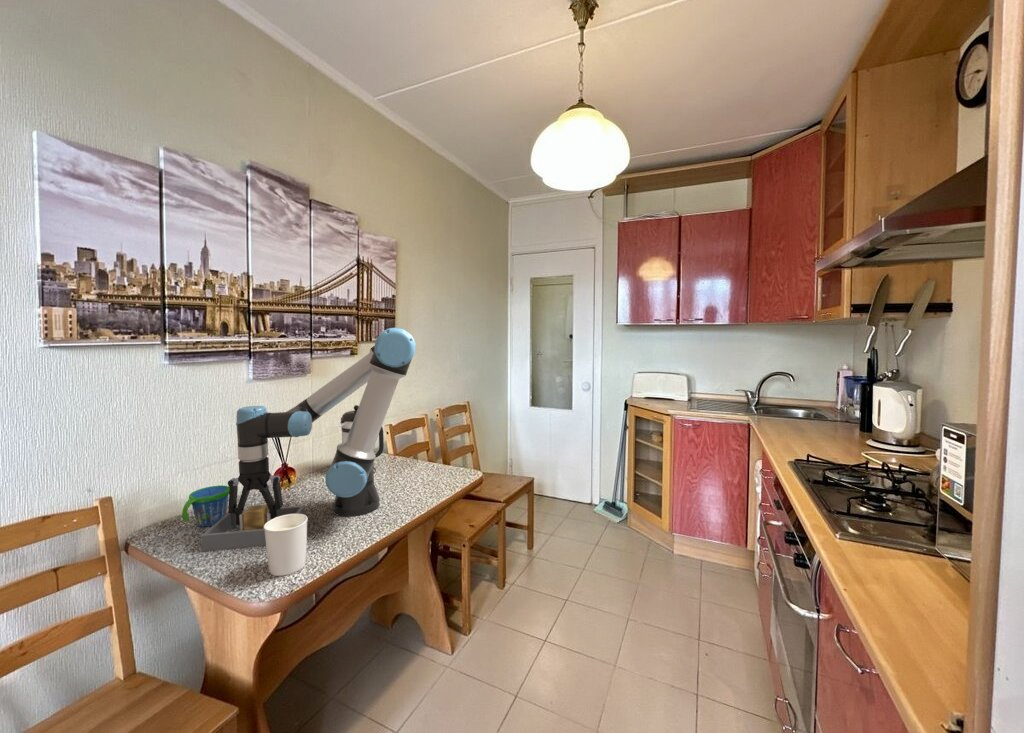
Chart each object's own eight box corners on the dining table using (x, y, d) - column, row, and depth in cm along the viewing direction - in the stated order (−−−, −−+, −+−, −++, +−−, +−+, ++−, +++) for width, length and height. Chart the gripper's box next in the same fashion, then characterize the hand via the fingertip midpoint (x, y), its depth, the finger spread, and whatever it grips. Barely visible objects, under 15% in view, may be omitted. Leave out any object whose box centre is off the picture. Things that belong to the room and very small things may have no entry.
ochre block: (270, 529, 124) (268, 504, 123) (263, 537, 119) (262, 511, 118) (252, 531, 123) (250, 505, 122) (244, 539, 118) (243, 512, 117)
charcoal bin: (305, 518, 131) (304, 505, 130) (288, 543, 115) (287, 528, 115) (229, 525, 126) (229, 511, 126) (201, 551, 111) (200, 536, 110)
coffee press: (372, 478, 168) (370, 408, 166) (334, 479, 168) (331, 408, 166) (384, 465, 186) (383, 401, 183) (350, 465, 185) (347, 401, 183)
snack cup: (193, 536, 120) (191, 503, 119) (173, 529, 124) (171, 497, 123) (246, 515, 134) (245, 485, 133) (227, 509, 138) (225, 480, 137)
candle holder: (288, 554, 109) (286, 511, 108) (317, 559, 106) (316, 516, 106) (256, 574, 100) (253, 527, 99) (287, 581, 97) (285, 533, 96)
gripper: (293, 452, 125) (296, 524, 126) (223, 456, 121) (227, 530, 122) (285, 459, 117) (288, 535, 119) (209, 464, 113) (214, 542, 115)
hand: (257, 533), depth 121 cm, fingers open, 7 cm apart
